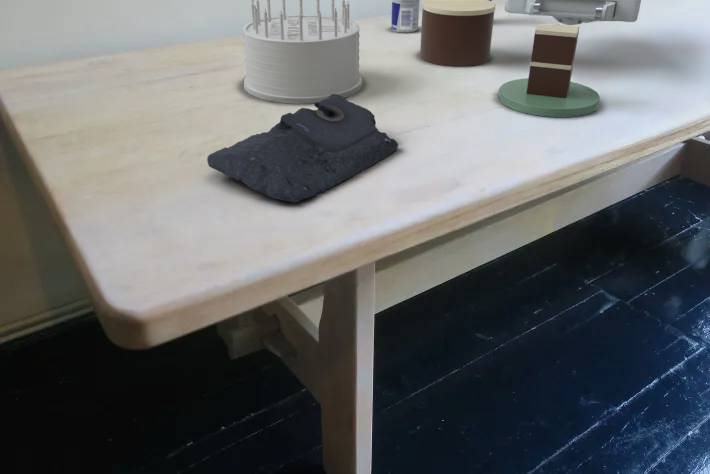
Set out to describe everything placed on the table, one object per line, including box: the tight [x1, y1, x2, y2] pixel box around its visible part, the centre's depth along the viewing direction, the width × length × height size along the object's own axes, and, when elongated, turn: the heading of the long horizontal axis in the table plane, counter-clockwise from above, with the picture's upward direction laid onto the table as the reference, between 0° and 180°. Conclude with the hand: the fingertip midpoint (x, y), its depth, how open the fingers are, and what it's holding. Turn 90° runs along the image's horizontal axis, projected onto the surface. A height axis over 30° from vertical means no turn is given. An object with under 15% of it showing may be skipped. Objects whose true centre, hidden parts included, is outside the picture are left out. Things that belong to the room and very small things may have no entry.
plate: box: [498, 77, 601, 118], centre depth 95 cm, size 14×14×1 cm
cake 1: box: [242, 0, 363, 105], centre depth 99 cm, size 18×18×13 cm
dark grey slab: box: [206, 94, 399, 203], centre depth 76 cm, size 15×22×5 cm
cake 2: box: [419, 0, 496, 67], centre depth 114 cm, size 12×12×9 cm
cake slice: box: [527, 22, 580, 98], centre depth 93 cm, size 6×4×9 cm
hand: (566, 12), depth 98 cm, fingers open, 8 cm apart
